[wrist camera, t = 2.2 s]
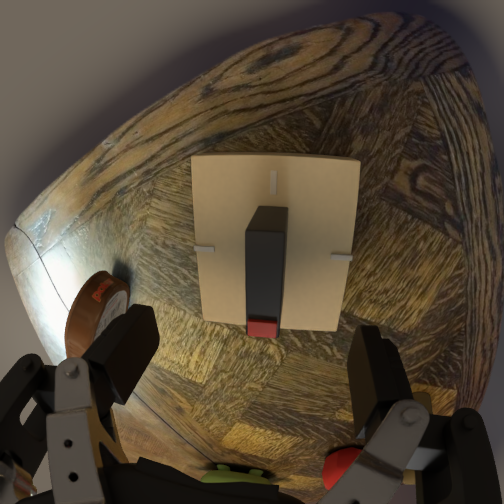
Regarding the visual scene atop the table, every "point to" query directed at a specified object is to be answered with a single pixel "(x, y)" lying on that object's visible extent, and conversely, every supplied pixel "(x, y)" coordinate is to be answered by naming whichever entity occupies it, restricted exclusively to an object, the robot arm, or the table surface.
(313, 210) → the panel
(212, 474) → the teapot
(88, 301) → the tin
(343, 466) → the apple
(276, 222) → the red tipped black brick
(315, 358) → the table surface
